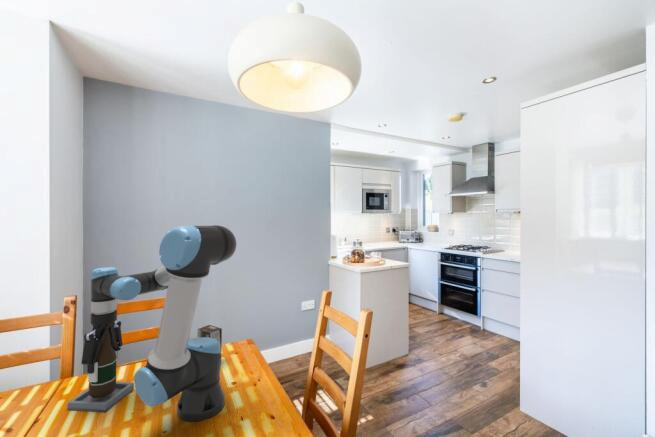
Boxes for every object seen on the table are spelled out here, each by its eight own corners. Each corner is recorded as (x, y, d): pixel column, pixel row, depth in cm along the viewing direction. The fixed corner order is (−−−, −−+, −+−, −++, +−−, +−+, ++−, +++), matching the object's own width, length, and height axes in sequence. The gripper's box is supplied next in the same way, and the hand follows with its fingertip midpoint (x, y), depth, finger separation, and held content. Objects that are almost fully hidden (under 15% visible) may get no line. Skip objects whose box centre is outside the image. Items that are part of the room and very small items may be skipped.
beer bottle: (101, 400, 102) (102, 330, 102) (82, 397, 104) (84, 328, 104) (121, 387, 110) (122, 322, 110) (103, 385, 111) (105, 320, 112)
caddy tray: (133, 389, 113) (133, 382, 113) (105, 412, 100) (105, 404, 100) (100, 387, 114) (100, 380, 114) (67, 409, 101) (67, 402, 101)
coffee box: (221, 364, 133) (222, 328, 133) (209, 370, 128) (210, 333, 128) (208, 359, 138) (209, 324, 138) (196, 364, 133) (197, 328, 133)
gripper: (116, 302, 117) (115, 360, 117) (67, 320, 97) (65, 391, 97) (134, 303, 117) (133, 361, 117) (89, 321, 96) (87, 392, 96)
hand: (103, 374), depth 107 cm, fingers open, 8 cm apart
